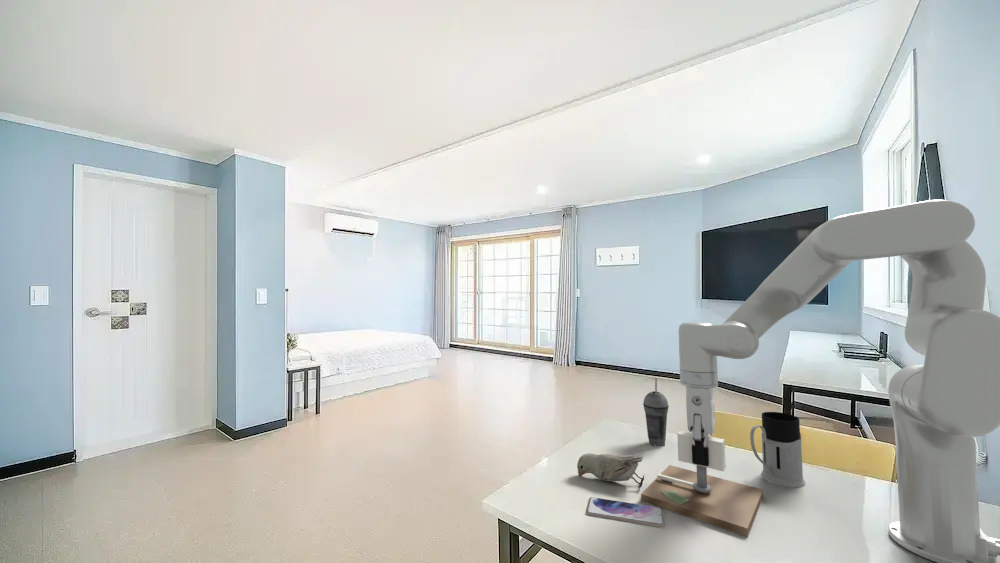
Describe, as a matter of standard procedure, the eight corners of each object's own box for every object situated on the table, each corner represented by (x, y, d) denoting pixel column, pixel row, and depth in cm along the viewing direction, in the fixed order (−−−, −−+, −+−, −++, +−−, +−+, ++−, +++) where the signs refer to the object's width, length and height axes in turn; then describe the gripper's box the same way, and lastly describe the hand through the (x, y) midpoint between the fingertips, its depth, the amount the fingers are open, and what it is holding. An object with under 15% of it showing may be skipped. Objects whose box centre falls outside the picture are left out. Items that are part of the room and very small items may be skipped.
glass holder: (814, 483, 92) (811, 419, 93) (771, 494, 87) (768, 426, 88) (777, 468, 100) (775, 409, 101) (736, 477, 96) (734, 415, 96)
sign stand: (727, 493, 85) (725, 438, 85) (723, 500, 82) (721, 443, 82) (660, 475, 94) (658, 425, 94) (655, 481, 91) (654, 430, 91)
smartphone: (589, 496, 87) (662, 507, 82) (589, 500, 87) (662, 511, 82) (585, 512, 80) (664, 525, 76) (585, 516, 80) (664, 529, 75)
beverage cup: (665, 439, 121) (663, 374, 122) (673, 448, 114) (671, 379, 115) (641, 439, 122) (639, 374, 123) (647, 448, 115) (645, 379, 116)
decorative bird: (580, 471, 101) (579, 442, 101) (646, 484, 94) (645, 452, 94) (574, 480, 96) (574, 449, 96) (644, 494, 89) (643, 460, 89)
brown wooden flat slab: (763, 496, 87) (762, 488, 87) (747, 536, 72) (747, 527, 72) (669, 470, 100) (669, 464, 100) (641, 500, 86) (640, 492, 86)
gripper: (715, 387, 78) (718, 480, 78) (719, 373, 92) (722, 452, 91) (675, 383, 82) (677, 472, 81) (684, 370, 96) (686, 446, 95)
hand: (701, 460), depth 86 cm, fingers closed on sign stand, 2 cm apart
